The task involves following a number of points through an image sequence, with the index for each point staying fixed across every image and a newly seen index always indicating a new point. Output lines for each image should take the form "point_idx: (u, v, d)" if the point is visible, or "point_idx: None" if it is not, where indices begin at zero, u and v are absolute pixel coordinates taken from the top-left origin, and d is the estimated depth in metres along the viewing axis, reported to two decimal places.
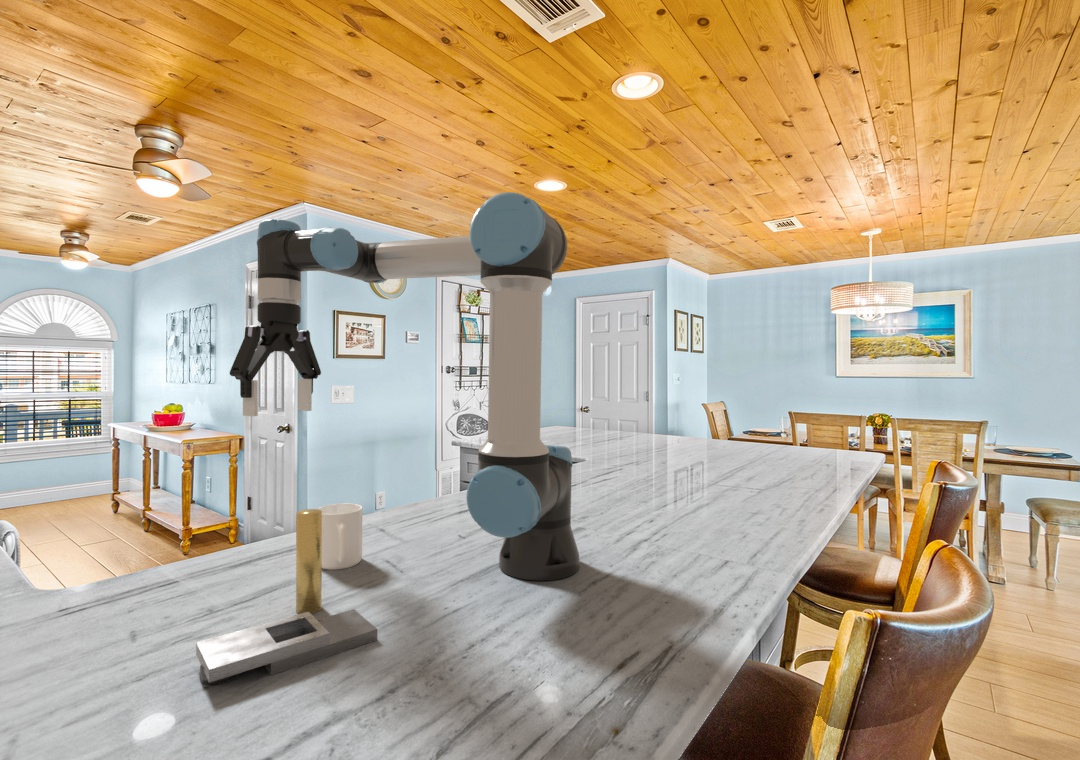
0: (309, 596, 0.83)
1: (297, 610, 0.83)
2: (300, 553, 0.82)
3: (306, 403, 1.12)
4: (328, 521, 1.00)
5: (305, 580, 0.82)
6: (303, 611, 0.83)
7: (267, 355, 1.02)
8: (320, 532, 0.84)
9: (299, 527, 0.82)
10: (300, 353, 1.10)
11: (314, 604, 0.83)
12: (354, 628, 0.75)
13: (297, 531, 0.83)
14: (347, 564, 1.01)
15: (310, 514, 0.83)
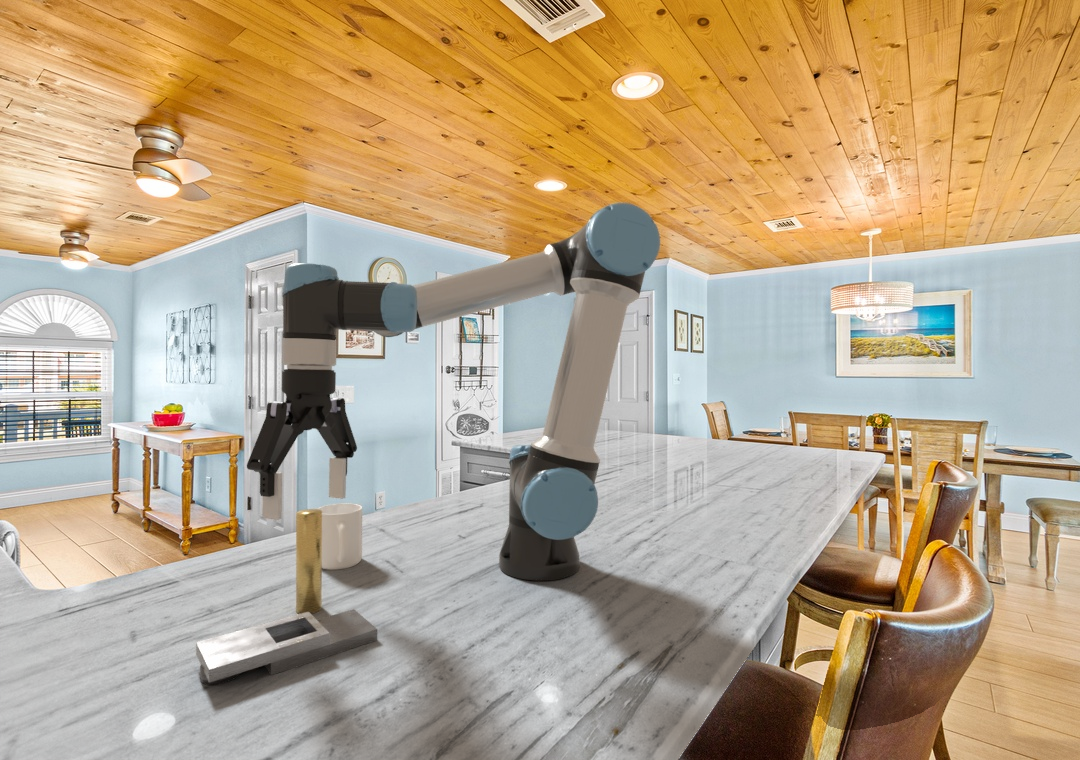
0: (309, 596, 0.83)
1: (297, 610, 0.83)
2: (300, 553, 0.82)
3: (339, 489, 0.90)
4: (328, 521, 1.00)
5: (305, 580, 0.82)
6: (303, 611, 0.83)
7: (294, 438, 0.79)
8: (320, 532, 0.84)
9: (299, 527, 0.82)
10: (333, 428, 0.87)
11: (314, 604, 0.83)
12: (354, 628, 0.75)
13: (297, 531, 0.83)
14: (347, 564, 1.01)
15: (310, 514, 0.83)
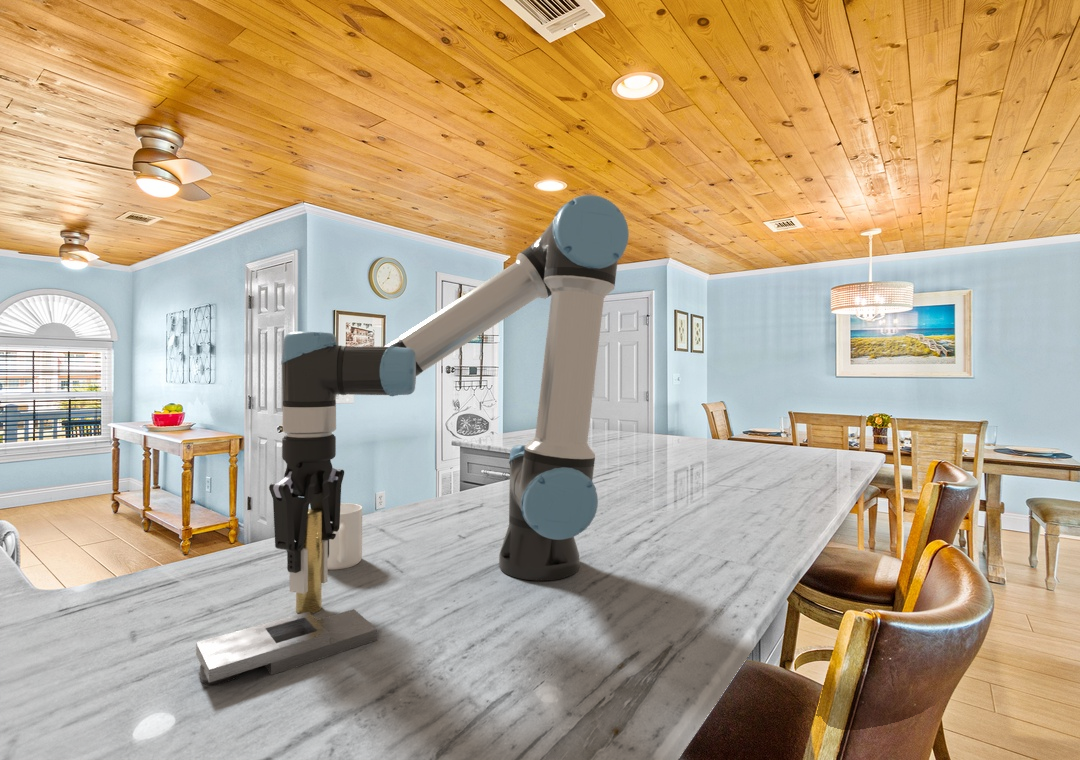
0: (309, 596, 0.83)
1: (297, 610, 0.83)
2: None
3: None
4: None
5: None
6: (303, 611, 0.82)
7: (306, 509, 0.82)
8: (320, 532, 0.84)
9: None
10: (326, 500, 0.86)
11: (314, 603, 0.83)
12: (354, 628, 0.75)
13: None
14: (347, 564, 1.01)
15: (310, 514, 0.83)
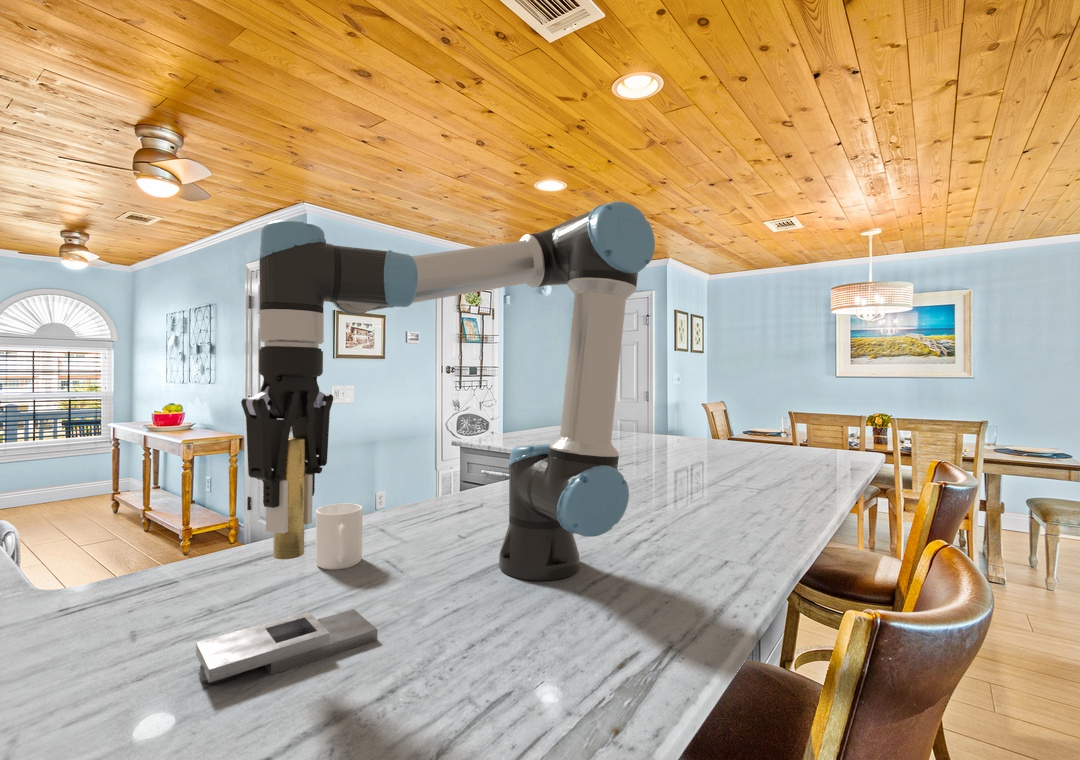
0: (289, 538, 0.70)
1: (275, 554, 0.70)
2: None
3: (304, 512, 0.73)
4: (328, 521, 1.00)
5: None
6: (282, 555, 0.69)
7: (287, 433, 0.69)
8: (303, 463, 0.71)
9: None
10: (310, 427, 0.73)
11: (295, 547, 0.70)
12: (354, 628, 0.75)
13: None
14: (347, 564, 1.01)
15: (291, 440, 0.70)
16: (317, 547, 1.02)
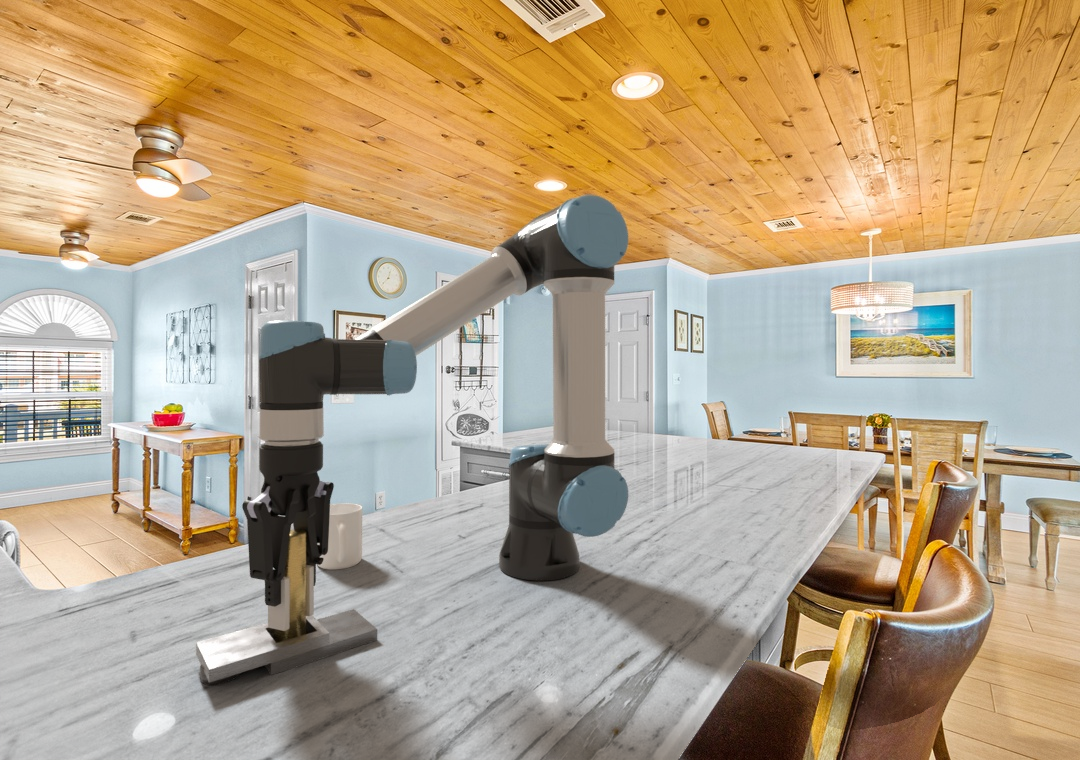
0: (291, 634, 0.70)
1: None
2: None
3: None
4: None
5: None
6: None
7: (288, 531, 0.69)
8: (304, 557, 0.71)
9: None
10: (311, 519, 0.73)
11: None
12: (354, 628, 0.75)
13: None
14: (347, 564, 1.01)
15: (292, 537, 0.70)
16: None
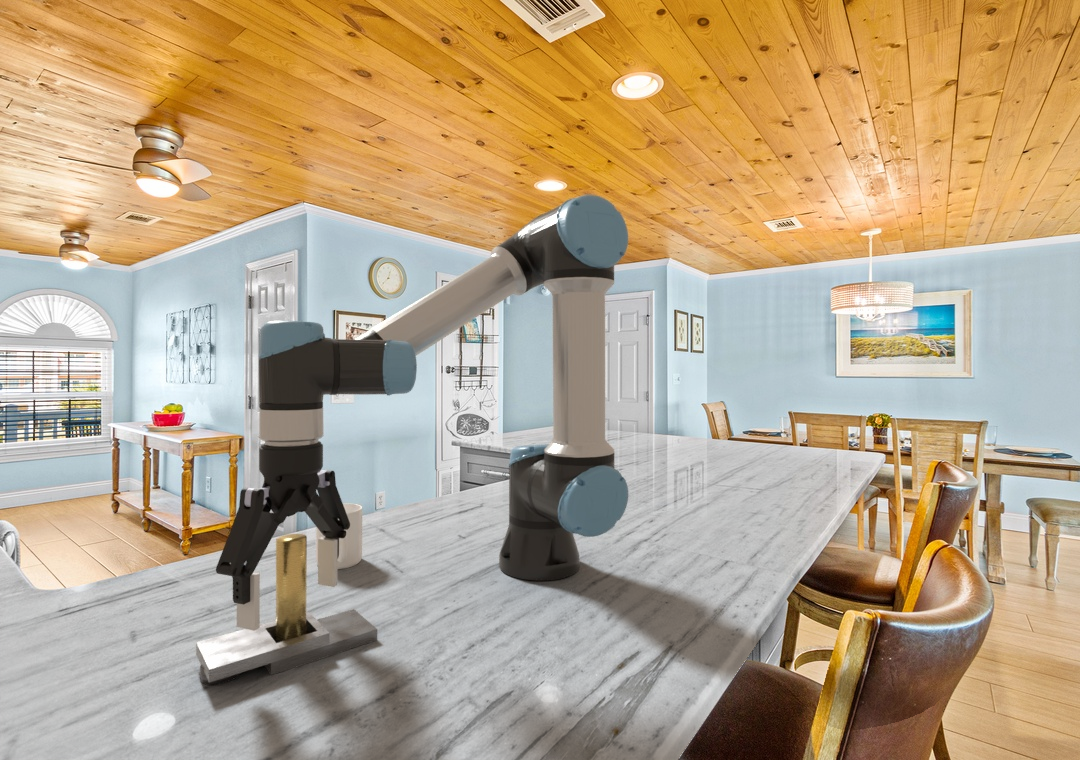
0: None
1: None
2: (281, 587, 0.70)
3: (330, 575, 0.77)
4: None
5: (286, 619, 0.70)
6: None
7: (274, 529, 0.67)
8: (304, 561, 0.71)
9: (279, 557, 0.70)
10: (322, 508, 0.75)
11: None
12: (354, 628, 0.75)
13: (277, 561, 0.70)
14: (347, 564, 1.01)
15: (292, 541, 0.70)
16: (317, 547, 1.02)
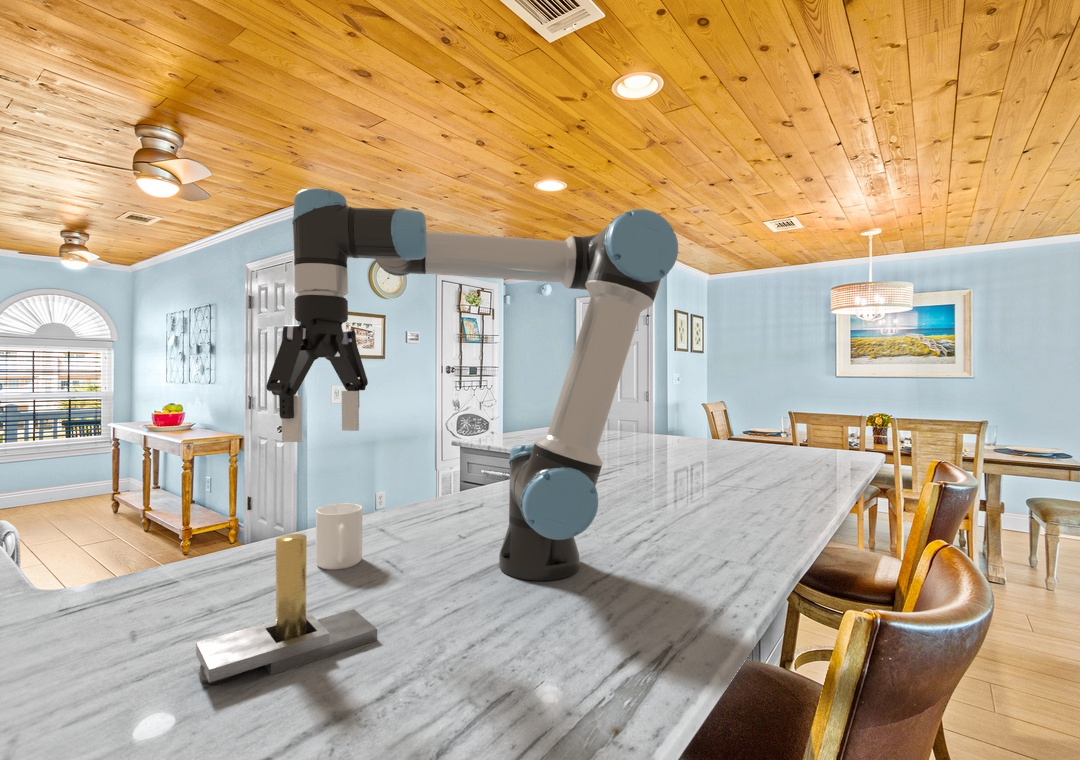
0: None
1: None
2: (281, 587, 0.70)
3: (352, 421, 0.90)
4: (328, 521, 1.00)
5: (286, 619, 0.70)
6: None
7: (311, 363, 0.80)
8: (304, 561, 0.71)
9: (279, 557, 0.70)
10: (346, 359, 0.87)
11: None
12: (354, 628, 0.75)
13: (277, 561, 0.70)
14: (347, 564, 1.01)
15: (292, 541, 0.70)
16: (317, 547, 1.02)
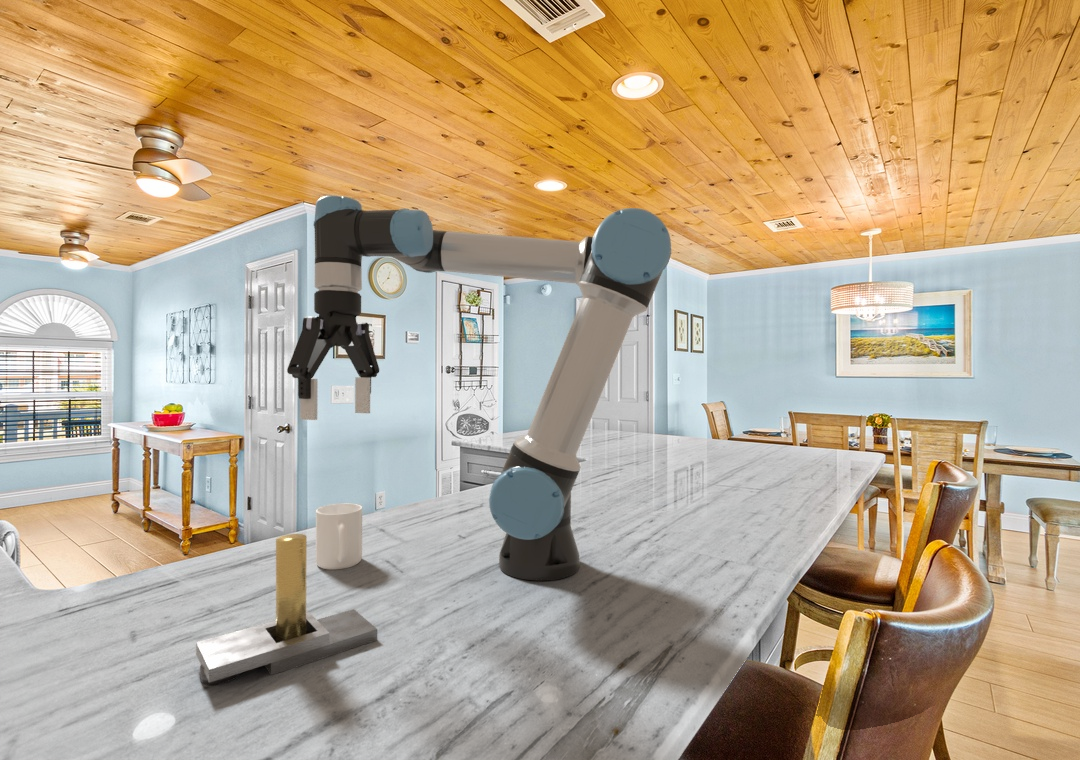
0: None
1: None
2: (281, 587, 0.70)
3: (364, 404, 1.00)
4: (328, 521, 1.00)
5: (286, 619, 0.70)
6: None
7: (327, 350, 0.90)
8: (304, 561, 0.71)
9: (279, 557, 0.70)
10: (359, 348, 0.97)
11: None
12: (354, 628, 0.75)
13: (277, 561, 0.70)
14: (347, 564, 1.01)
15: (292, 541, 0.70)
16: (317, 547, 1.02)
